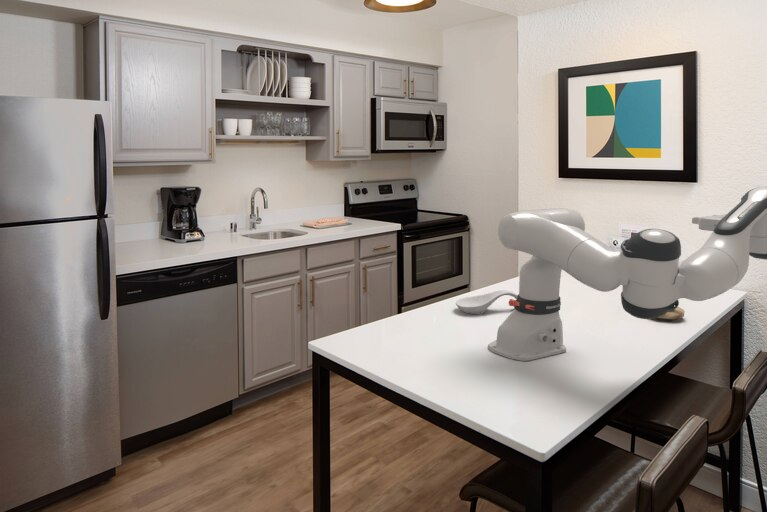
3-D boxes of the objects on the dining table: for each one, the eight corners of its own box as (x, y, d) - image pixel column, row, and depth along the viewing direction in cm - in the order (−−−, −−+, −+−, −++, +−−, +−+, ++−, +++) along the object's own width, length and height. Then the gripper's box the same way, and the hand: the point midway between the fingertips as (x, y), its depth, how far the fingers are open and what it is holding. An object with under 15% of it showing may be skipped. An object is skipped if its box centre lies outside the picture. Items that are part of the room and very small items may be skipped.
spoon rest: (459, 317, 186) (460, 297, 184) (452, 308, 197) (452, 288, 196) (528, 315, 188) (528, 294, 186) (516, 305, 199) (517, 286, 198)
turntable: (673, 321, 173) (673, 315, 173) (636, 312, 183) (636, 307, 182) (690, 314, 181) (691, 308, 180) (654, 306, 190) (654, 301, 190)
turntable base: (668, 321, 177) (669, 318, 177) (647, 316, 183) (647, 313, 182) (679, 317, 181) (679, 314, 181) (657, 312, 187) (658, 309, 187)
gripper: (728, 238, 148) (680, 232, 160) (771, 232, 158) (722, 226, 170) (730, 215, 147) (682, 210, 159) (773, 210, 156) (725, 206, 168)
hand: (703, 219), depth 164 cm, fingers open, 8 cm apart
